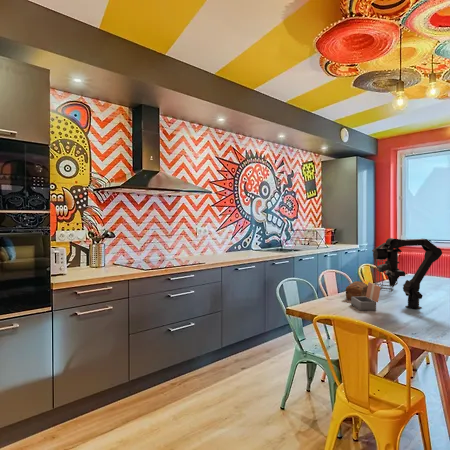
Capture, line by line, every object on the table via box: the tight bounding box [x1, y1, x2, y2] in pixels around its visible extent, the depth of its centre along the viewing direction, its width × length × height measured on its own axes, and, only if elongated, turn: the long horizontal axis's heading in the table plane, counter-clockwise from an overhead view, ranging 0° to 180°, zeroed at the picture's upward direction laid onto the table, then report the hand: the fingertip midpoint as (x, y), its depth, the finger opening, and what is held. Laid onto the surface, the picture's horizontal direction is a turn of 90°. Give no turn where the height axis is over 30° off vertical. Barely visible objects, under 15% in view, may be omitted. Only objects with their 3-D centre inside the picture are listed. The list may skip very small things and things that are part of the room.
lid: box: [366, 281, 382, 303], centre depth 205 cm, size 9×14×1 cm
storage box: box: [350, 297, 377, 312], centre depth 205 cm, size 9×14×5 cm, turn 1°
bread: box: [345, 280, 368, 301], centre depth 230 cm, size 19×11×10 cm, turn 144°
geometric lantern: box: [371, 242, 398, 292], centre depth 256 cm, size 16×16×35 cm
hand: (392, 285), depth 205 cm, fingers closed
